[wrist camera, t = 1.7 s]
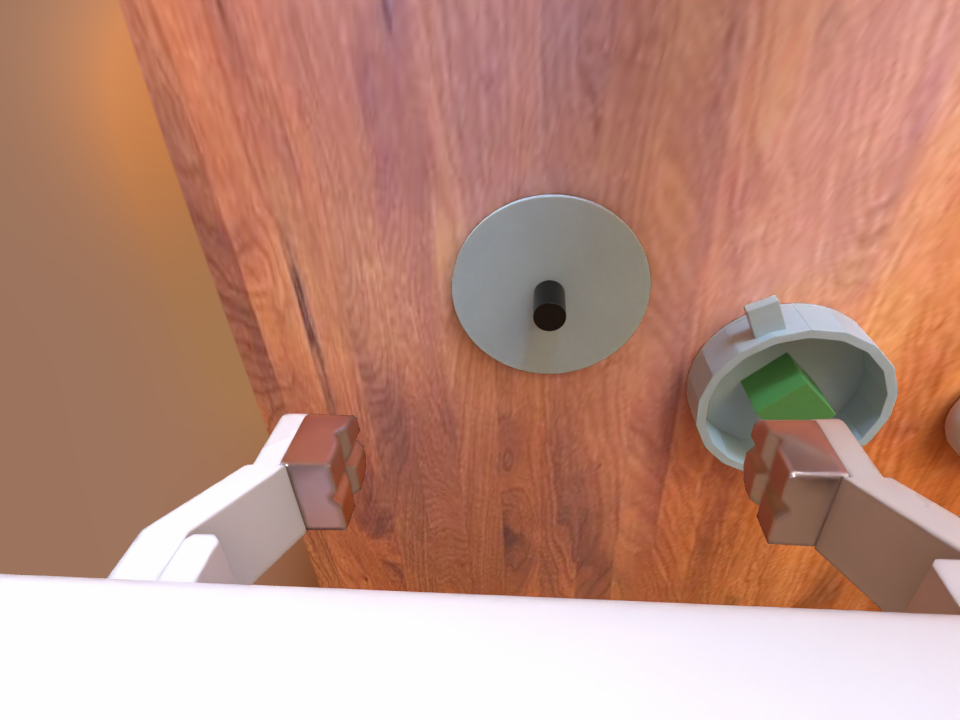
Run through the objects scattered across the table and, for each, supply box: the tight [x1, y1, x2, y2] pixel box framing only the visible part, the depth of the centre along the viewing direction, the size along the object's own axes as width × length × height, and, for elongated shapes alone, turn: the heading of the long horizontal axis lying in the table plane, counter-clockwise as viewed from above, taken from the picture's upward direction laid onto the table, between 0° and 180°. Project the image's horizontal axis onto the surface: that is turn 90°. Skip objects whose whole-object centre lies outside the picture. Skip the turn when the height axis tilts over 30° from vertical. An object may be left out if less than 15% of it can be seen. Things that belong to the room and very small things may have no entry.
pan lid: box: [451, 194, 651, 374], centre depth 47 cm, size 17×17×5 cm
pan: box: [687, 295, 898, 471], centre depth 50 cm, size 16×21×4 cm
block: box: [741, 352, 836, 420], centre depth 50 cm, size 5×5×5 cm
